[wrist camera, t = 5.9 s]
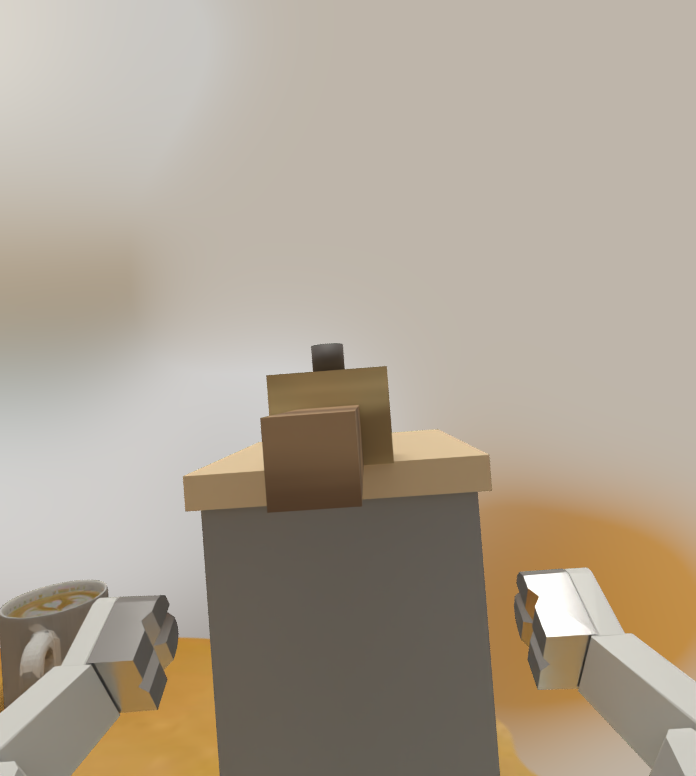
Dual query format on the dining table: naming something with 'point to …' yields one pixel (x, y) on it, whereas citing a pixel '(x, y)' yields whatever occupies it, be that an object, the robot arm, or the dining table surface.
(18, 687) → the coffee mug
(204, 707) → the dining table surface
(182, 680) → the dining table surface
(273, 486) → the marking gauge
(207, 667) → the dining table surface
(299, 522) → the stand
